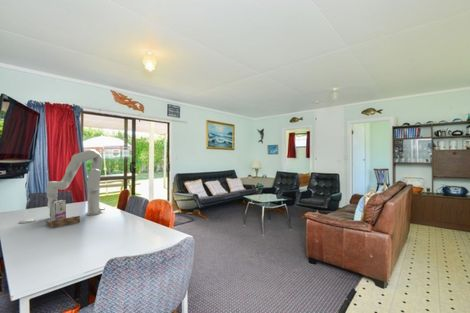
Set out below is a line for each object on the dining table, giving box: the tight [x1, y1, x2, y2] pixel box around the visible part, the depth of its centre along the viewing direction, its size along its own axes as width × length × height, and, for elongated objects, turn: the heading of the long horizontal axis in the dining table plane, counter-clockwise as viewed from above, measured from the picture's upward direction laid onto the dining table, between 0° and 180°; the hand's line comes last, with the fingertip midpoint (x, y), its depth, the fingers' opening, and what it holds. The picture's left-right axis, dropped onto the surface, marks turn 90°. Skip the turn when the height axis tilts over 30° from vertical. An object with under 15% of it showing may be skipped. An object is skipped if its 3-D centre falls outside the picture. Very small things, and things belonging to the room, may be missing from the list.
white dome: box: [18, 218, 37, 224], centre depth 188 cm, size 10×10×1 cm
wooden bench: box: [46, 215, 81, 228], centre depth 183 cm, size 18×14×5 cm
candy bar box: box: [49, 199, 67, 222], centre depth 191 cm, size 11×5×16 cm, turn 179°
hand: (52, 216), depth 200 cm, fingers closed
